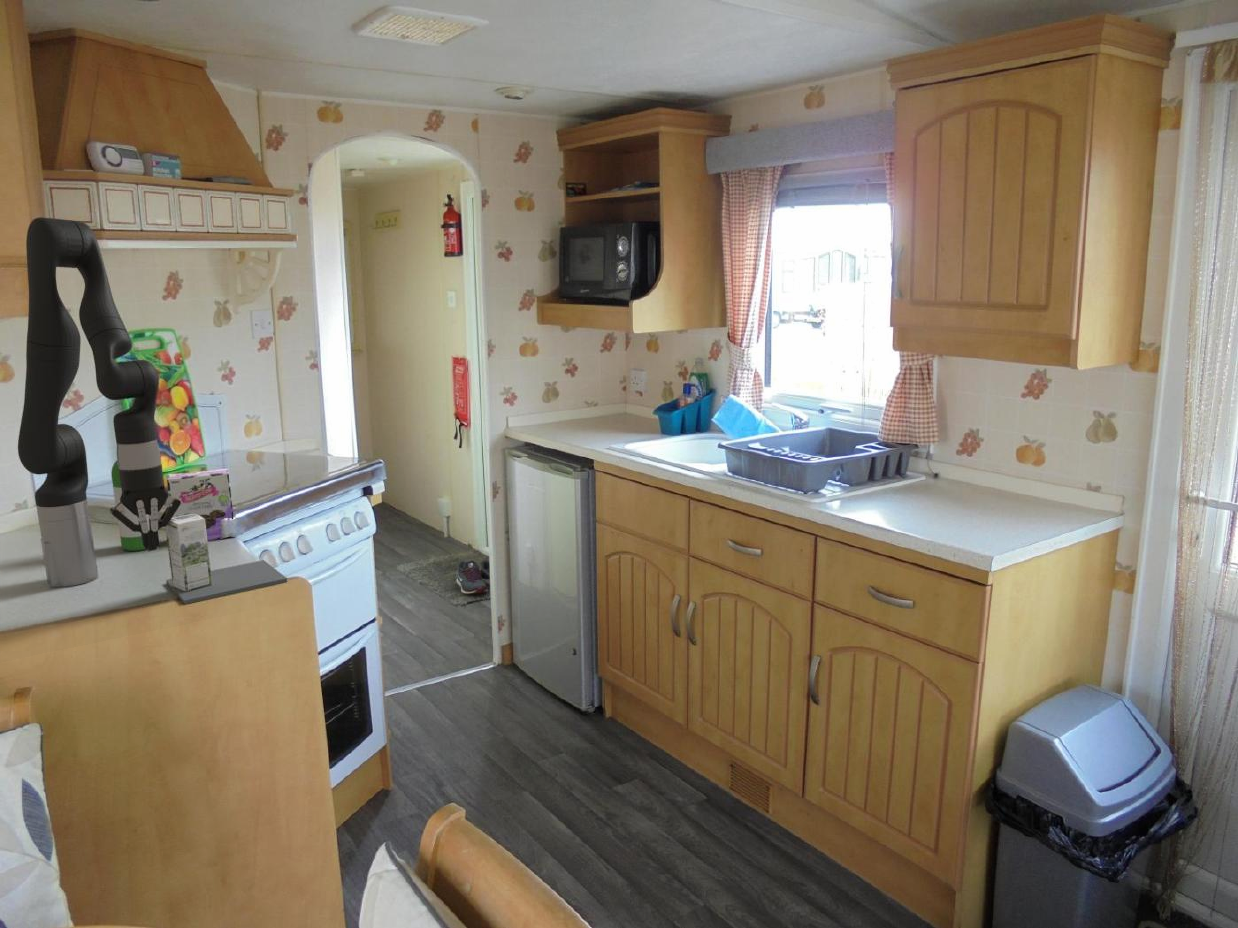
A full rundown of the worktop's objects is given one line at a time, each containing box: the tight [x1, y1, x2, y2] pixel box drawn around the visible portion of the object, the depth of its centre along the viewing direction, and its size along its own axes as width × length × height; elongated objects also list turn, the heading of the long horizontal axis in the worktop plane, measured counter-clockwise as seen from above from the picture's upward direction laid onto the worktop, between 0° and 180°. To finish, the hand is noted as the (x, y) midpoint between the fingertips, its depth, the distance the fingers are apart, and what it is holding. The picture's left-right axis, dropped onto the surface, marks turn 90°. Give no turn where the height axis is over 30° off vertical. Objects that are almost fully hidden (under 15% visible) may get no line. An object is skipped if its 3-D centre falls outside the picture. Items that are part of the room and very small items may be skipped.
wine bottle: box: [111, 460, 150, 552], centre depth 220 cm, size 8×8×30 cm
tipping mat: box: [166, 559, 288, 605], centre depth 196 cm, size 20×16×1 cm
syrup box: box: [165, 514, 212, 592], centre depth 191 cm, size 6×6×14 cm
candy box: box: [166, 468, 235, 542], centre depth 227 cm, size 14×6×16 cm, turn 114°
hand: (151, 549), depth 186 cm, fingers closed
